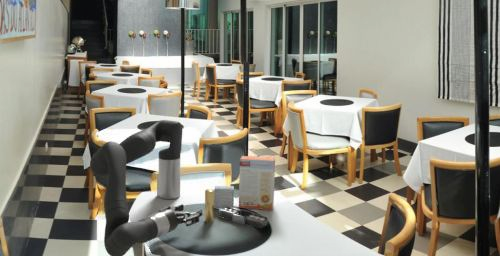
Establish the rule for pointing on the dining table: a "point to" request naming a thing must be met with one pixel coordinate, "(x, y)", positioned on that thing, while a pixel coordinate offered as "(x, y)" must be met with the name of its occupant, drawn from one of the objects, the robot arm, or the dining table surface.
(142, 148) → the robot arm
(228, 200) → the medicine box
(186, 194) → the dining table surface
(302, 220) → the dining table surface
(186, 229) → the dining table surface
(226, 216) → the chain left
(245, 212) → the link seat
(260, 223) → the chain right
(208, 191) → the link pin
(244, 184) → the cracker box
